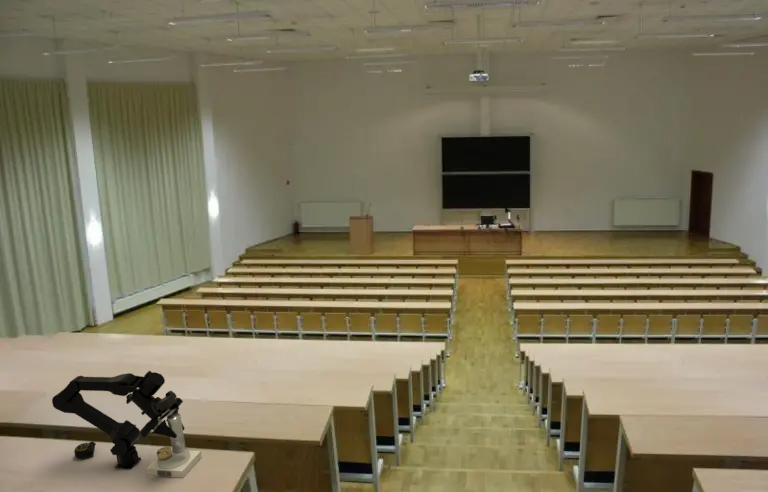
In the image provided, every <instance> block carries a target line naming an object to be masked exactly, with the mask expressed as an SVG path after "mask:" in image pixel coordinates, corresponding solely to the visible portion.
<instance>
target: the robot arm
mask: <svg viewBox="0 0 768 492" xmlns="http://www.w3.org/2000/svg"><path fill="white" fill-rule="evenodd" d="M165 381H166V380H165V377H164V376H163V375H162V374H161V373H158V372H155V371H154V372H153V371H151V370H149V371H147V372H146V373H145V374H144V376H141V375H134V373H130V372H129V373H123V374H122V373H121V374H119V375H115V376H112V377H111V376H83V375H77V376H76V377H74V378H73V379H72V380H70V381H69V383H68V384H67V385H66V386H65V387H64V389H62V390H61V391H60V392H58V393H57V394H56V395H54V396H53V397H52V398H51V403H52V406H53V408H54V409H56V410H57V411H59V412H63V413H65V414H74V415H76V416H77V417H79V418H82V419H83V420H85V421H86V422H88V423H89V424H91V425H93V426H94V427H95V428H97V429H99V430H100V431H102V432H103V433H106V435H108V437H110V441H111V442H112V444H114V445H113V446H112V448H110V453H111V454H112V456H116V461H117V464H116V465H115V469H124V470H131V469H132V468H134V466H135V465H137V464H138V463H139V462H140V461H141V460H142V457H141V456H140V457H139V453H138V450H137V446H136V443H138V442H139V441H138V439H139V438H140V437H143V438H144V439H145V438H147V437H148V436H149V435H150V434H151V435H154V434H157V435H162V436H166V437H169V438H170V437H172V438H176V437H177V435H176V434H175V433H174V432H173V431H172V430H171V429H170V428H169V427H168V424H167V423H168V421H167V419H165V418H167V417H168V416H169V415H171V414H175V413H178V414H179V410H180V406H181V404H183V402H184V401H183V399H181V398H180V397H177V394H176V393H175V392H173V391H172V390H168V391H167V392H166V393H165V395H164V397H163V398H161V397H159V396H157V397H155V396H154V395H156V393H157V392H158V391H159V390H160V389H161V388H162V387H163V385H164V384H165ZM81 391H82V392H83V391H85V392H86V391H87V392H88V391H89V392H90V391H91V392H92V391H93V392H110V393H111V394H112V395H115V396H121V397H126V399H125V400H126V401H125V403H126V404H127V405H128V404H131V402H132V403H134V405H136V406H137V407H138V408H139V409H140V410H141V412H140V414H141V415H142V416H144V415H146V416H147V417H148V418H149V419H150V420H148V422H146V423H145V425H143V427H142V428H141V430H140V429H139V428H138V427H137V424H134V423H132V422H131V421H130V420H128V419H127V420H125V421H123V422H118V421H117V420H115V419H113V418H112V417H110V416H109V415H107V414H106V413H104V412H102V411H101V410H100V409H97V408H96V407H95V406H93V405H91V404H89V403H88V402H86V401H85V400H84V397H83V395H82V394H81ZM182 428H183V431H185V426H184V424H183V423H182Z"/></svg>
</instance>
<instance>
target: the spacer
mask: <svg viewBox="0 0 768 492" xmlns="http://www.w3.org/2000/svg"><path fill="white" fill-rule="evenodd" d="M166 420H167V421H168V422H167V421H166V422H167V426H168V427H169V428H170V429H171V430H172V431H173V432H174V433H175V434H176V435H177V437H176V438H172V437H169V438H170V443H171V444H170V445H171V449H172V450H173V453H176V454H178V453H182V452H183V451H185V450H187V448H186V441H185V436H184V430H183V428H182V424H183V422H182V416H181V414H180V413H179V412H178V413H175V414H171V415H169V416H168V417H166Z"/></svg>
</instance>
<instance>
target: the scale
mask: <svg viewBox="0 0 768 492" xmlns="http://www.w3.org/2000/svg"><path fill="white" fill-rule="evenodd" d="M171 452H172V457H171V458H170V459H168V460H165V461H159V460H158V457H156V458H155V459H154V460H153V461H152V462H151V463H150V464H149V466H147V467H146V472H147V475H148V476H157V477H158V476H159V477H168V478H169V477H171V478H181V479H184V478H185V477H186V476H187V474H188V473H189V472H190V471H191V470H192V469H193V468H194V467H195V465H196V464H197V463H198V462H199V461H200V460H201V459H202V451H201V450H189V449H186V450H185V451H183V452H182V453H178V454H176V453H173V450H172V448H171ZM200 458H201V459H200ZM199 459H200V460H199ZM198 460H199V461H198ZM197 461H198V462H197ZM192 467H193V468H192ZM183 477H184V478H183Z"/></svg>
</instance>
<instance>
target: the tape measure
mask: <svg viewBox="0 0 768 492" xmlns="http://www.w3.org/2000/svg"><path fill="white" fill-rule="evenodd" d="M96 446H97V443H96V442H94V441H89V442H82V443H80V444H78V445H77V446H75V448H74V451H73V453H74V456H75V458H76V459H81V460H83V459H86V458H89V457H92V456H94V453H95V452H94V451H95V448H96Z"/></svg>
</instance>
